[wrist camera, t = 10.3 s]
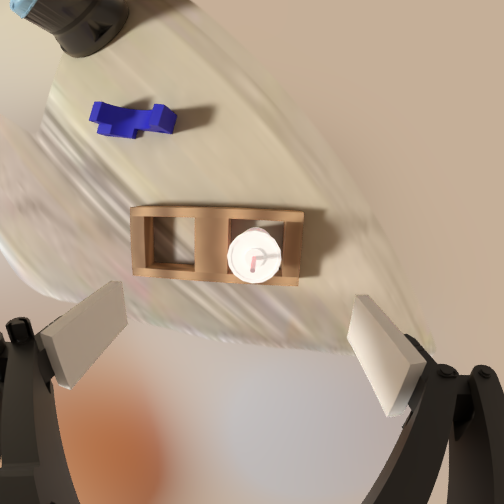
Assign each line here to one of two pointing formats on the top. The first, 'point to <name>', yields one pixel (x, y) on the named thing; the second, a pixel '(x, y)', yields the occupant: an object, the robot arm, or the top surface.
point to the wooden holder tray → (212, 243)
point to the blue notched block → (131, 120)
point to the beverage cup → (254, 256)
